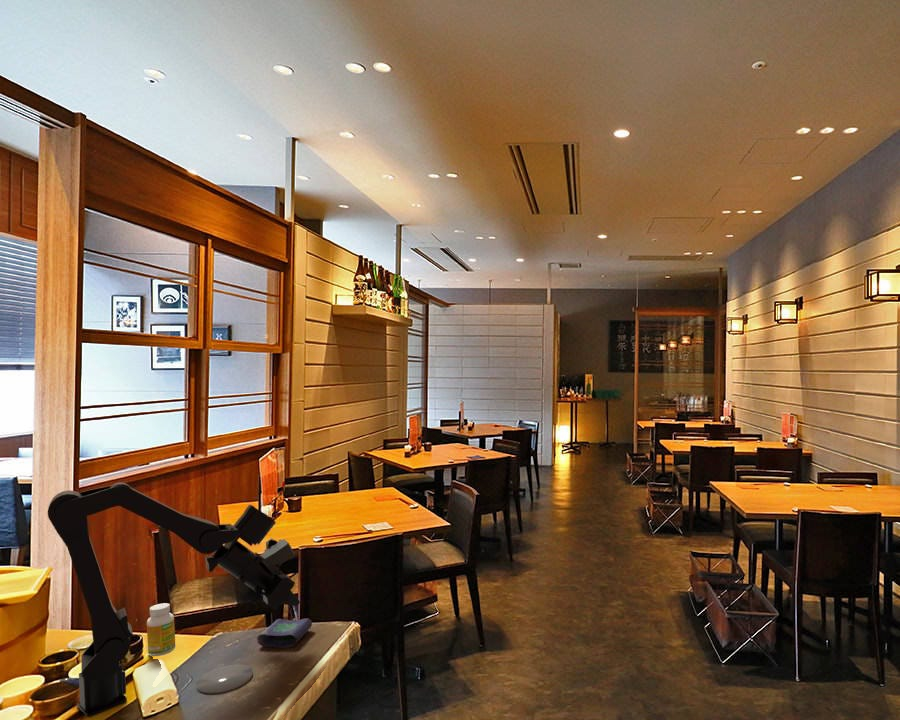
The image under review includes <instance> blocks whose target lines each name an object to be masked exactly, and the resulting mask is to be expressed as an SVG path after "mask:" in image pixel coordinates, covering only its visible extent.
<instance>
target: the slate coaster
mask: <svg viewBox="0 0 900 720" xmlns="http://www.w3.org/2000/svg"><path fill="white" fill-rule="evenodd" d="M252 677H253V669H252V668H251V666H248V665H245V664H240V663H239V664H237V663H236V664H235V663H234V664H229V665H224V666H218V667H216V668H213V669H212V670H209V671H208V672H205V673H204V674H202V675H201V676H200V677H199V678H198V679H197V681H196V689H197V691H199V692H200V693H202V694H207V695H209V694H212V695H214V694H222V693H227V692H229V691H232V690H236V689H238V688H240V687H242V686H243V685H245V684H247V683H248V682H249V681H250V680H251V679H252Z"/></svg>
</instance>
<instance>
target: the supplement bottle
mask: <svg viewBox="0 0 900 720" xmlns="http://www.w3.org/2000/svg"><path fill="white" fill-rule="evenodd" d="M149 616H150V617H148V619H147V621H146V634H147V635H146V636H147V654H148V655H149V656H150V657H160V656H165V655H167V654H170V653H172V652H173V651H174V650H175V649H176V633H175V632H176V629H175V616H174V614H173V613H171V605H170V603H167V602H166V603H165V602H163V603H158V604H155V605H152V606H150V607H149Z"/></svg>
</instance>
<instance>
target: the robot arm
mask: <svg viewBox="0 0 900 720" xmlns="http://www.w3.org/2000/svg"><path fill="white" fill-rule="evenodd" d="M115 507H120V508H123V509H125V510H127V511H129V512H131V513H133V514H135V515H137V516H139V517H142V518H143V519H145V520H147V521H149V522H151V523H154V524H155V525H158V526H159V527H161V528H164V529H165V530H168V531H169V532H172V533H174V534H175V535H176V536H177V537H178V538H180V539H181V540H182V541H184V543H186V544H188V545H189V547H191V548H193V549H194V550H195V551H197V552H198V553H200V554H203V555H207V556H205V557H204V559H205V563H206V564H205V565H206V566H205V567H206V569H207V571H208V572H210V573H212V572H213V571H214V570H215V569H216V567H217V566H219V567H220V568H222V569H223V570H225V571H226V572H228V573H229V574H231V575H232V576H234V578H236V579H237V580H238V581H239V582H241V583H242V584H243V585H244V584H245V585H246V586H247V587H249V588H250V589H252V590H253V591H254V593H256V594H258V595H261V597H262V599H263V602H264V603H265V604H266V605H267V606H268V607H270V608H271V609H273V610H277V609H278V608H279V607H280V606H281V605H287V606H293V607H297V606H299V605H300V603H301V601H300V600H299V598H298V597H297V595H295V594H294V593H293V591H292V590H293V588H294V586H295V584H296V582H295V581H294V580H292V579H291V578H290V577H289V576H287V575H286V574H285V573H283V572H282V571H281V570H279V568H278V567H279V566H281V565H282V564H283V563H285V562H287V561H288V560H290V559H292V558H294V556H295V555H296V553H295V551H294V550H293V548H292V546H291V545H290V542H289V541H287V540H285V539H279V540H278V541H277V540H276V539H274V538H269V540H267V541H266V542H265V549H264V550H263V552H262V553H261V554H259V553H257V552H256V551H255V552H253V551H252V550H251V549H249V548H248V547H246V545H244V544H243V543H241V542H240V541H239V539H241V540H242V541H243V542H245V543H246V544H247V545H249V546H250V547H252V546H253V545H254V546H257V545H260V544H261V542H262V541H263V540H264V539H265V538H266V536H267V535H268V534H269V532H270V531H271V530H272V529H273V527H274V526H275V525H276V523H277V522H276V521H275V520H274V519H273V518H272V517H271V516H269V515H268V514H267V513H265V512H263V511H261V510H259V509H258V508H256V507H255V506H254V505H252V504H249V505H248V506H247V507H246V508H245V510H244V511H243V513H242V514H241V515H240V517H239V518H238V519H237V520H236V522H235V523H234V524H231V523H225V524H224V523H223V524H217V523H216V524H215V523H214V522H213V521H210V520H209V519H208V520H207V519H204V518H201V517H198V516H193V515H189V514H185V513H182V512H180V511H178V510H176V509H174V508H172V507H170V506H168V505H166V504H164V503H163V502H160V501H158V500H157V499H154V498H153V497H150V496H149V495H146V494H144V493H143V492H141V491H139V490H137V489H135V488H133V487H131V486H130V485H129V484H127V483H126V482H122V481H121V482H116V483H113V484H110V485H107V486H102V487H97V488H92V489H88V490H83V491H80V492H78V491H76V490H63V491H61V492H59V493H56V494H55V495H54V496H53V497H52V499H51V500H50V503H49V505H48V508H47V517H48V520H49V521H50V523H51V524H52V526H53V528H54V529H55V531H56V533H57V535H58V536H59V537H60V539H61V540H62V542H63V543H64V545H65V546H66V549H67V551H68V554H69V556H70V559H71V560H70V561H71V563H72V565H73V569H74V572H75V574H76V578H77V581H78V583H79V586H80V589H81V592H82V595H83V599H84V601H85V605H86V607H87V610H88V613H89V616H90V623H91V633H92V642H91V644H90V645H89V646H88V647H87V648H86V649H85V650H84V651H83V652H82V654H81V656H80V657H81V658H80V659H81V660H80V661H81V663H80V665H81V666H80V667H81V669H80V670H81V672H80V673H78V688H79V690H78V691H79V702H77V703H76V706H77V708H78V709H80V711H81V713H82V712H83V714H84V715H85V716H86V717H91V716H94V715H95V714H98V713H101V712H103V711H105V710H108V709H111V708H113V707H115V706H117V705H120V704H122V703H125V702H126V701H128V698H127V696H125V695H126V693H127V682H126V679H127V678H126V671H125V670H123V664H122V663H121V660H123V659H124V658H125V657H126V656H127V654H128V653H129V652H130V650H131V638H134V633H133V629H132V625H131V624H130V623H129V621H128V615H127V611H126V608H125V607H122V608H121V609H120V608H119V610H117V609H116V608H115V606H114V605H113V603H112V601H111V598H110V597H111V596H110V594H109V592H108V589H107V586H106V582H105V579H104V576H103V574H102V571H101V567H100V564H99V562H98V558H97V556H96V552H95V548H94V546H93V543H92V542H91V537H90V534H89V533H90V530H89V523H88V522H89V521H88V516H92V515H94V514H98V513H100V512H103V511H107V510H109V509H111V508H115ZM210 554H211V555H210Z"/></svg>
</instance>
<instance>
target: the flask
mask: <svg viewBox="0 0 900 720" xmlns="http://www.w3.org/2000/svg"><path fill="white" fill-rule="evenodd" d="M312 622H313V621H312V620H311V619H310V618H307V617H306V618H302V619H298V617H295V618H293V619H285V618H284V619H282V618H278V619H276V620H275V621H274V622H273V623H272V624H271V625H269V626H268V627H267V628H265V629H264V631H262V632H261V633H260V634H259V635H257V638H256V639H257V640H256V641H257V644H258V645H260V646H262V647H266V648H277V649H284V648H285V649H286V648H291V647H294V646H295V645H297V643H298V642H299V641H300V640H301V638H302V637H303V636H304V635H305V634H306V633H307V632H308V631H309V630H310V629H311V628H312V625H313V623H312ZM288 625H289V626H288Z"/></svg>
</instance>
